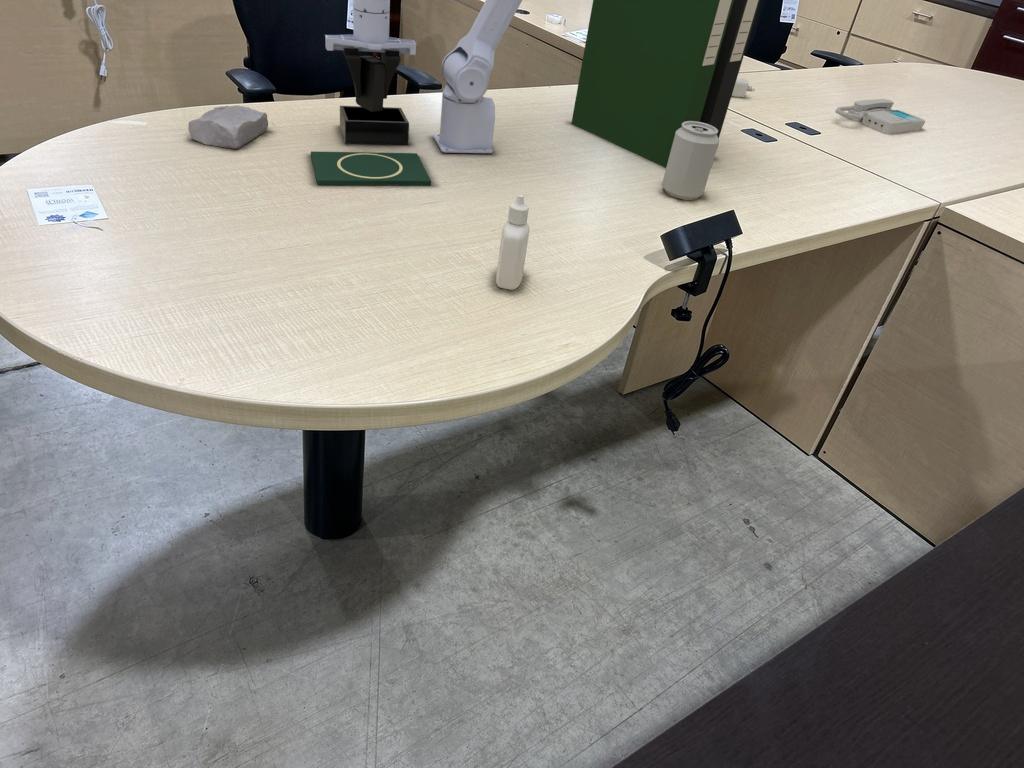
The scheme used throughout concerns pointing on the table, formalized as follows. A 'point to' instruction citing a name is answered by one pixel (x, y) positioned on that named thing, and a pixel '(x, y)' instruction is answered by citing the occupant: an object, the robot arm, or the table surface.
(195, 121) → the stone block
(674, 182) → the can
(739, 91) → the usb wall charger
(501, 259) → the eye dropper bottle
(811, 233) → the table surface
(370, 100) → the ink cartridge
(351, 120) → the pen tray
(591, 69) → the binder
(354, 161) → the desk mat
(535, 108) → the table surface
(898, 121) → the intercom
